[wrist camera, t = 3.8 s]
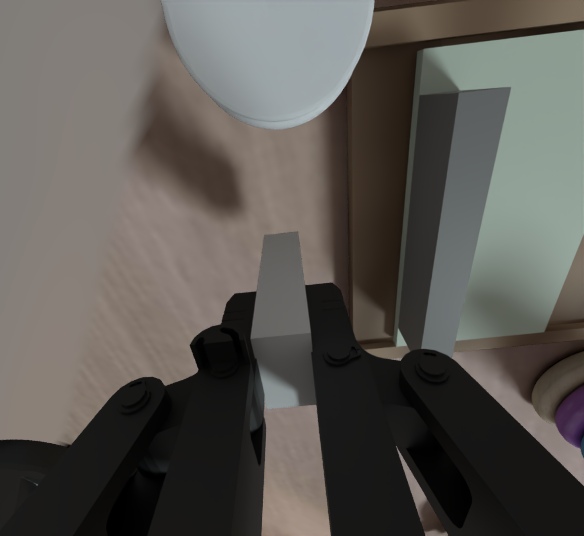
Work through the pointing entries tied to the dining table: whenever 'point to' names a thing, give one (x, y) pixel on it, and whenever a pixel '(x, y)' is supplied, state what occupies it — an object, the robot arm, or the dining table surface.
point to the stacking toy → (563, 398)
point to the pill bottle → (270, 53)
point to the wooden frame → (395, 151)
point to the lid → (491, 189)
